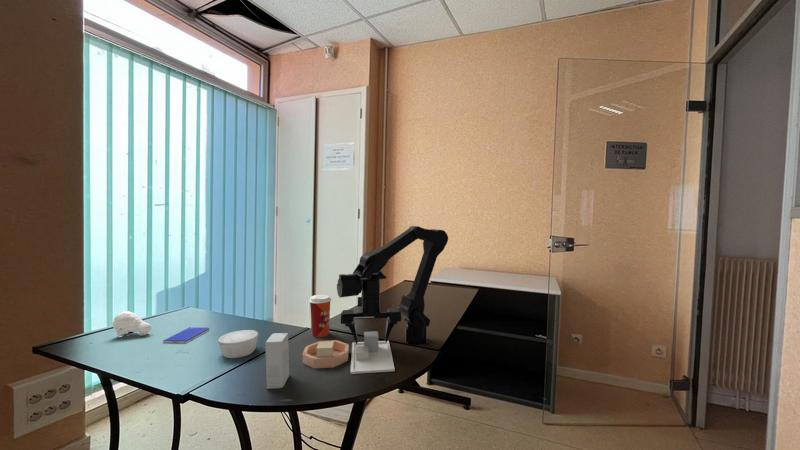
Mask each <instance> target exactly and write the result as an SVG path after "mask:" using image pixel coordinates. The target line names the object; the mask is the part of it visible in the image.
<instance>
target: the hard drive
mask: <svg viewBox="0 0 800 450" xmlns="http://www.w3.org/2000/svg"><path fill="white" fill-rule="evenodd" d="M209 331H210V327H205V326H204V327H200V326H199V327H196V326H195V327H194V326H192V327H191V326H190V327H187V328H186V329H184V330H181V331H179V332H178V333H175V334H173V335H171V336H170V337H167V338H165V339H164V340H163V341H162V343H163V344H188V343H189V342H192V341H193V340H194V339H197V338H198V337H200V336H202V335H204V334H205V333H207V332H209Z"/></svg>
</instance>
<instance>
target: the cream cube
mask: <svg viewBox="0 0 800 450" xmlns="http://www.w3.org/2000/svg"><path fill="white" fill-rule="evenodd" d="M317 342H318V345H317V348H316V349H317V357H333V356H334V342H319V341H317Z"/></svg>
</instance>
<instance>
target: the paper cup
mask: <svg viewBox="0 0 800 450" xmlns="http://www.w3.org/2000/svg"><path fill="white" fill-rule="evenodd" d="M331 301H332V298H331V296H330V295H329V294H315V295H314V294H313V295H311V296H310V297H309V301H308V302H309V305H310V306H309V308H310V319H311V332H312V337H314V338H325V337H328V336H329V333H330V318H331V317H330V316H331V313H330V312H331Z"/></svg>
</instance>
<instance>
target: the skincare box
mask: <svg viewBox="0 0 800 450" xmlns="http://www.w3.org/2000/svg"><path fill="white" fill-rule="evenodd" d="M264 345H265V370H266V371H265V373H266V374H265V376H266V377H265V378H266V389H268V390H269V389H271V390H272V389H282V388H284V387H285V384H286V382H287V380H288V379H289V377H290V362H289V361H290V360H289V355H290V354H289V333H288V332H282V333H281V332H280V333H279V332H278V333H276V332H275V333H271V335H270V336H269V337H268V339H266V341H265V343H264Z"/></svg>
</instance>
